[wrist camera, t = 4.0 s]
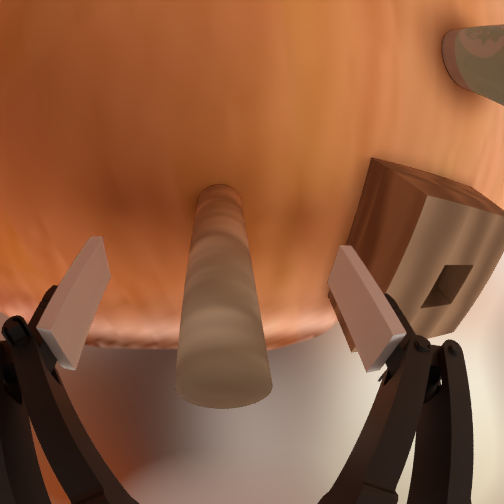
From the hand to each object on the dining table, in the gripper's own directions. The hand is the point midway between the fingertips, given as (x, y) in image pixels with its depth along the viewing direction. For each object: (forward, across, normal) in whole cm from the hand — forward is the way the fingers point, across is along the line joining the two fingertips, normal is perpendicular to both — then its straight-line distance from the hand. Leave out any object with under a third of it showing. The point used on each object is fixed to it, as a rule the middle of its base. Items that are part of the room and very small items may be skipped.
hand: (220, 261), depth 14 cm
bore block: (+7, +18, -2) cm, 19 cm away
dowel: (+6, 0, 0) cm, 6 cm away
